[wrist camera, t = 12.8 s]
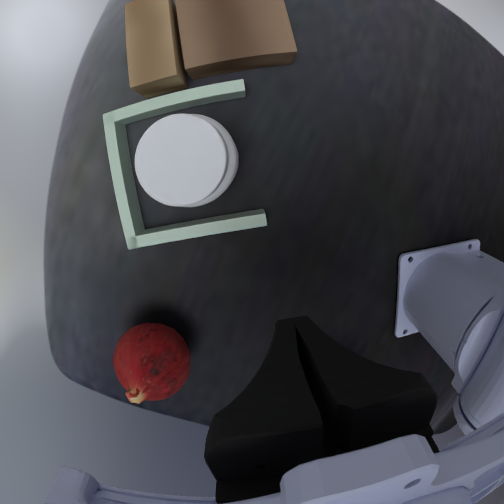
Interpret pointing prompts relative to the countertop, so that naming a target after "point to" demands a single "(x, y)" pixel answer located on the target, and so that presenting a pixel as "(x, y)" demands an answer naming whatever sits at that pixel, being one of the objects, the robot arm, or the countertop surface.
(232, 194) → the countertop surface
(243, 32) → the tan cardboard block
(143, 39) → the block
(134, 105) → the corral
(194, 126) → the pill bottle
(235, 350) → the countertop surface
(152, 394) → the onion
